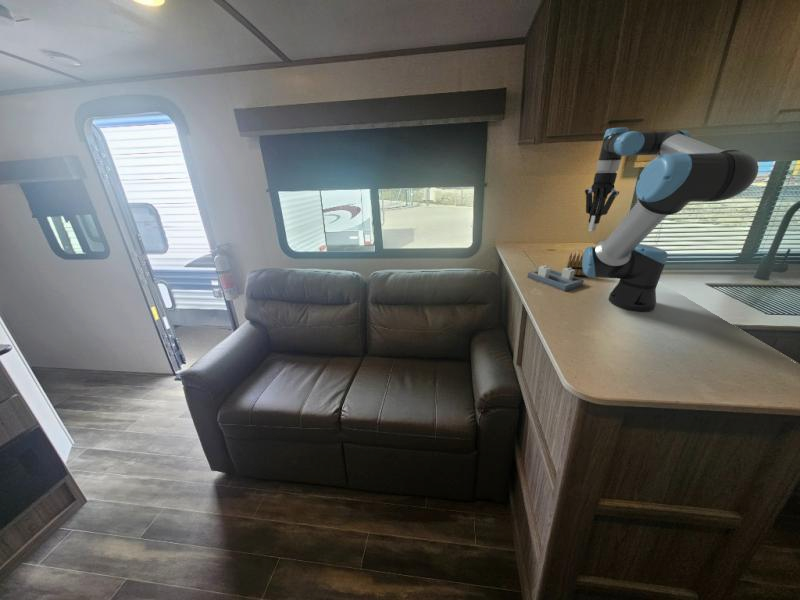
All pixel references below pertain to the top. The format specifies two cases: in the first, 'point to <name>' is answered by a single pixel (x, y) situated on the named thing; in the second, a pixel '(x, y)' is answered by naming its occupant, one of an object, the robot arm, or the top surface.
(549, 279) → the switch bank
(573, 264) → the ammunition clip
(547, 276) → the tab
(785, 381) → the top surface
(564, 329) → the top surface
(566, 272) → the tab
